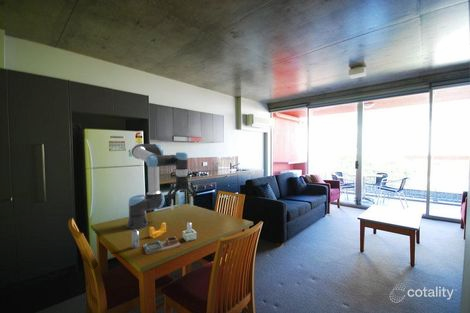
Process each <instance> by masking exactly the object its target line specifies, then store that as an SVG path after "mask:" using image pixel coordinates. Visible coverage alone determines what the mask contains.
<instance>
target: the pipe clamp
mask: <svg viewBox="0 0 470 313" xmlns="http://www.w3.org/2000/svg"><path fill="white" fill-rule="evenodd" d="M166 232H167V223H166V222H161V225H160V228H158V229H157V230H155V226H154V227H153V226H151V227H150V226H149V237H150V238H153V239H155V238H156V237H157V238H158V237H160V236H162V234H164V233H166Z"/></svg>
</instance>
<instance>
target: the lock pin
mask: <svg viewBox="0 0 470 313" xmlns="http://www.w3.org/2000/svg"><path fill="white" fill-rule="evenodd" d="M192 224H193V223H192V222H189V221H188V222H186V230H187V234H190V233H192V229H193V228H192V227H193V226H192Z"/></svg>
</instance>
